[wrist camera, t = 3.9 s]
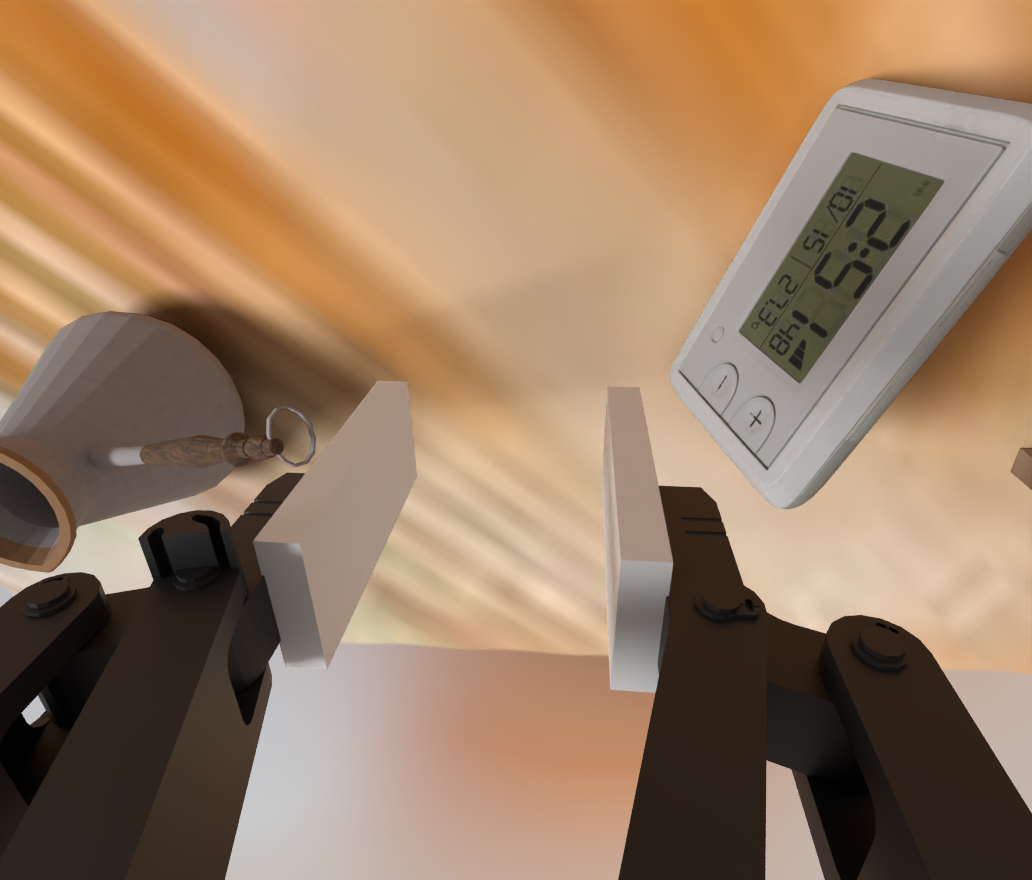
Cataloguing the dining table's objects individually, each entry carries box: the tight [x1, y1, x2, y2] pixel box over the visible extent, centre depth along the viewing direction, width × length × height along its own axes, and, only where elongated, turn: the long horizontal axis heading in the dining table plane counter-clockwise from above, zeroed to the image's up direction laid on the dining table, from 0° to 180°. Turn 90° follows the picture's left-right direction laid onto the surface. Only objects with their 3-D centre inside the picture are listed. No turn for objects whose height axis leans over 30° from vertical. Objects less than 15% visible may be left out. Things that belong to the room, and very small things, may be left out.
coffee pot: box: [0, 311, 316, 573], centre depth 30 cm, size 21×12×15 cm, turn 109°
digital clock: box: [670, 79, 1032, 509], centre depth 26 cm, size 16×9×11 cm, turn 146°
